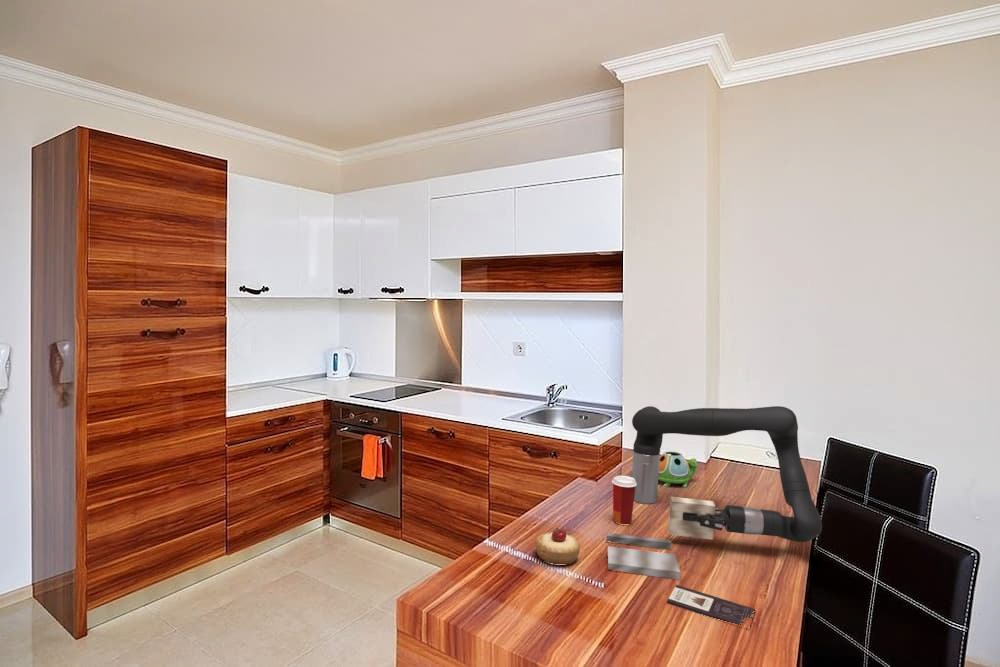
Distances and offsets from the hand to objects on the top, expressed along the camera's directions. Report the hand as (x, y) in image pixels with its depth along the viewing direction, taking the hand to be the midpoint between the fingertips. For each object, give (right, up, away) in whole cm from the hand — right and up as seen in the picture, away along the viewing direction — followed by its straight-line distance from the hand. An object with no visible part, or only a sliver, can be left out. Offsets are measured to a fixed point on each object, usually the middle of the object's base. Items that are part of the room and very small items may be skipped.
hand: (682, 513), depth 161 cm
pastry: (-38, -8, -12) cm, 41 cm away
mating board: (-15, -9, -10) cm, 20 cm away
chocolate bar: (-4, -12, -33) cm, 36 cm away
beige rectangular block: (+2, -6, 0) cm, 7 cm away
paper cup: (-15, -8, +14) cm, 22 cm away
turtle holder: (+15, -6, +55) cm, 57 cm away
